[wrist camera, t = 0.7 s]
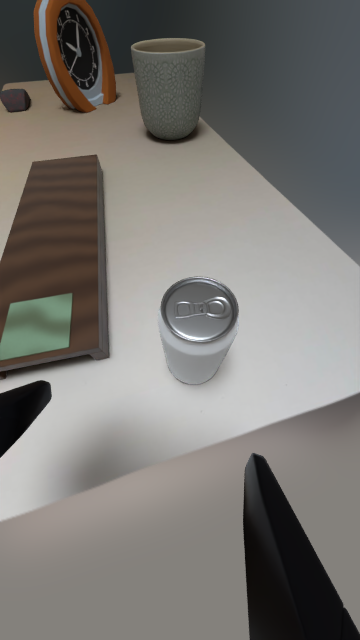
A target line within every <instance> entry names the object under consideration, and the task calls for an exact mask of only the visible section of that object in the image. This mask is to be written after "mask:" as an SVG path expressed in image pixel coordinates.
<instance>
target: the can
mask: <svg viewBox="0 0 360 640" xmlns="http://www.w3.org/2000/svg"><path fill="white" fill-rule="evenodd" d="M238 313H239V309H238V303H237V300H236V298H235V296H234V294H233V293H232V292H231V290H230V289H229V288H228V287H226V286H225V285H224V284H222V283H221V282H219V281H217V280H214V279H211V278H207V277H190V278H186V279H183V280H180V281H178V282H176V283H175V284H173V285H172V286H171V287H170V288H169V289H168V290H167V291H166V293H165V294H164V296H163V299H162V302H161V307H160V309H159V313H158V327H159V332H160V336H161V341H162V345H163V349H164V353H165V357H166V360H167V364H168V367H169V369H170V371H171V373H172V374H173V375H174V376H175V377H176V378H177V379H178V380H180V381H181V382H184V383H187V384H201V383H204V382H206V381H208V380H209V379H210V378H212V377H213V375H214V374H215V373H216V371H217V370H218V368H219V366H220V364H221V363H222V361H223V359H224V357H225V355H226V353H227V352H228V350H229V348H230V346H231V344H232V342H233V340H234V338H235V336H236V334H237V331H238V326H239V317H238Z"/></svg>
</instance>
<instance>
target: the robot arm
mask: <svg viewBox="0 0 360 640" xmlns="http://www.w3.org/2000/svg"><path fill="white" fill-rule="evenodd" d="M51 397H52V394H51V385H50V383H49V382H46V381H43V380H39V381H36V382H33V383H30V384H27V385H24V386H21V387H18V388H15V389H12V390H9V391H6V392H3V393H0V458H1V457H2V456H3V455H4V453H5V452H6V451H7V450H8V449H9V448H10V447H11V446H12V445H13V444H14V443H15V442H16V441H17V440H18V439H19V438H20V437H21V436H22V434H23V433H24V432H25V431H26V430H27V429H28V427H29V426H30V425H31V424H32V423H33V421H34V420H35V419H36V418H37V416H38V415H39V414H40V413H41V411H42V410H43V409H44V408H45V407H46V405H47V404H48V403H49V401H50V400H51ZM244 481H245V482H244V509H243V527H244V528H243V530H244V546H245V547H244V548H245V564H246V582H247V599H248V617H249V635H250V640H360V634H359V632H358V630H357V628H356V626H355V624H354V623H353V621H352V619H351V617H350V615H349V613H348V611H347V610H346V608H343V602H342V600H341V599H340V597H339V595H338V593H337V591H336V589H335V587H334V586H333V584H332V582H331V580H330V578H329V576H328V574H327V573H326V571H325V569H324V567H323V565H322V563H321V562H320V560H319V558H318V556H317V554H316V552H315V551H314V548H313V547H312V545H311V543H310V541H309V540H308V537H307V535H306V534H305V532H304V530H303V528H302V526H301V524H300V523H299V521H298V519H297V517H296V515H295V513H294V511H293V510H292V508H291V506H290V504H289V502H288V501H287V498H286V497H285V495H284V493H283V491H282V489H281V487H280V485H279V484H278V482H277V480H276V478H275V476H274V474H273V472H272V471H271V469H270V467H269V465H268V463H267V461H266V459H265V458H264V457H263V456H261V455H258V454H255V453H252V454H251V456H250V458H249V460H248V463H247V465H246V467H245V479H244Z"/></svg>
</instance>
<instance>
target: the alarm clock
mask: <svg viewBox="0 0 360 640" xmlns="http://www.w3.org/2000/svg"><path fill="white" fill-rule="evenodd" d="M34 27H35V28H34V29H35V38H36V42H37V46H38V51H39V55H40V59H41V62H42V64H43V67H44V70H45V73H46V75H47V78H48V80H49V82H50V83H51V85H52V87H53V89H54V91H55V93H56V94H57V95H58V97H59V98H60V99H61V101H62V102H63V103H64V104H65V105H66V106H67V107H69V108H71V109H75V108H76V109H77V110H78V111H82V112H90V111H93V110H95V109H96V108H95V107H94V106H97V105H99V104H102V103H104V104H110V103H112V102H114V101H115V99H116V82H115V76H114V69H113V65H112V61H111V57H110V53H109V49H108V46H107V43H106V40H105V37H104V34H103V32H102V29H101V26H100V24H99V22H98V20H97V18H96V16H95V14H94V12H93V10H92V8H91V7H90V6H89V4H88V3H87V2H86V1H85V0H37V3H36V6H35V9H34Z"/></svg>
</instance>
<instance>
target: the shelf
mask: <svg viewBox="0 0 360 640" xmlns="http://www.w3.org/2000/svg"><path fill="white" fill-rule="evenodd" d="M86 354H89V355H91V356H92V357H93V358H94V359H96V360H99V359H104V358H109V343H108V316H107V288H106V260H105V232H104V204H103V176H102V169H101V166H100V163H99V160H98V157H97V155H89V156H80V157H71V158H62V159H54V160H45V161H36V162H33V163H32V166H31V169H30V172H29V175H28V178H27V181H26V184H25V187H24V190H23V194H22V197H21V200H20V203H19V206H18V209H17V212H16V215H15V218H14V221H13V224H12V228H11V231H10V234H9V237H8V240H7V243H6V246H5V249H4V252H3V255H2V258H1V261H0V380H1V379H5V378H6V374H7V370H11V369H16V368H21V367H26V366H31V365H36V364H41V363H46V362H51V361H56V360H61V359H66V358H71V357H76V356H81V355H86Z"/></svg>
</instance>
